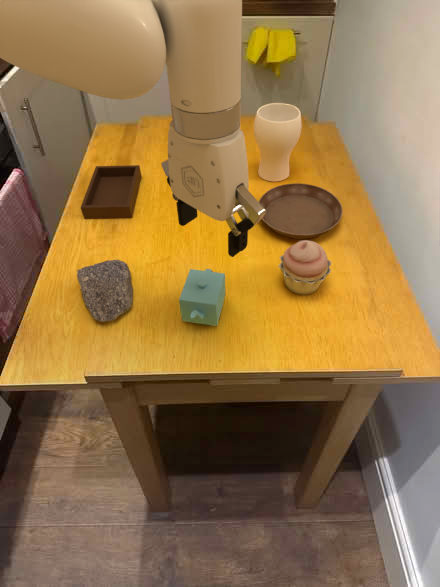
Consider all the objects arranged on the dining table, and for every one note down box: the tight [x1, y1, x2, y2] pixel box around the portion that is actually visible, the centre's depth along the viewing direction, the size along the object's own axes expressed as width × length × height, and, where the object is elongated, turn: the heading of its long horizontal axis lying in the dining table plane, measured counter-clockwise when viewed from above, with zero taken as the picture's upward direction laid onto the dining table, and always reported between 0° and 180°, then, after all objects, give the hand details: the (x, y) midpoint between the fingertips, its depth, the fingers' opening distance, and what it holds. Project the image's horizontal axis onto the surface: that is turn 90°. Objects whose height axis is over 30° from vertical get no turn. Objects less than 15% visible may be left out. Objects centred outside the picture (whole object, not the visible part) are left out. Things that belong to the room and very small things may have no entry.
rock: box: [76, 259, 134, 323], centre depth 73 cm, size 12×5×10 cm
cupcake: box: [278, 239, 332, 296], centre depth 72 cm, size 9×9×10 cm
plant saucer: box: [258, 182, 344, 240], centre depth 87 cm, size 18×18×3 cm
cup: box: [253, 102, 303, 182], centre depth 95 cm, size 11×11×15 cm
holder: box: [80, 164, 142, 220], centre depth 94 cm, size 17×11×3 cm, turn 0°
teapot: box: [178, 268, 226, 327], centre depth 68 cm, size 12×6×8 cm, turn 168°
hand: (212, 235), depth 57 cm, fingers open, 9 cm apart
